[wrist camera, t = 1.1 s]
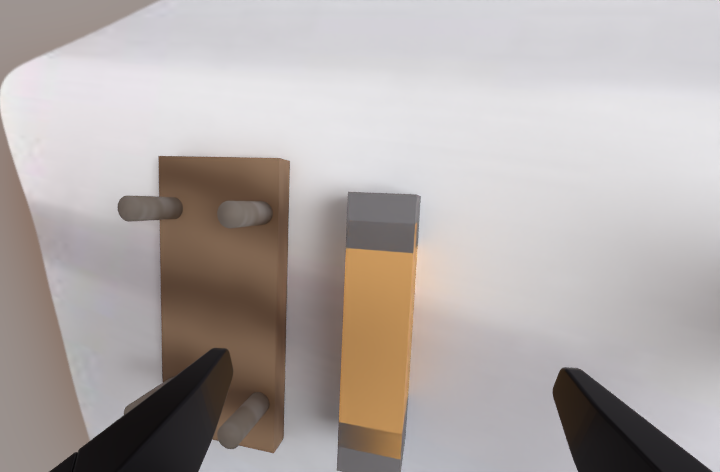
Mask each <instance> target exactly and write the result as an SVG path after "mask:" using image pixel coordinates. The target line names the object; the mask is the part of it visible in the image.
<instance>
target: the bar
mask: <svg viewBox="0 0 720 472" xmlns="http://www.w3.org/2000/svg"><path fill="white" fill-rule="evenodd" d="M420 199H421V196H419V195H412V194H387V193H361V192H348V209H347V233H346V258H345V282H344V307H343V332H342V356H341V381H340V405H339V430H338V454H337V471H342V472H401V466H402V459H403V451H404V444H405V436H406V421H407V405H408V389H409V373H410V357H411V341H412V326H413V310H414V294H415V278H416V262H417V246H418V230H419V215H420Z"/></svg>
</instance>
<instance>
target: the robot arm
mask: <svg viewBox="0 0 720 472" xmlns="http://www.w3.org/2000/svg"><path fill="white" fill-rule="evenodd" d="M232 378H233V366H232V361H231V357H230V352H229V350H228V349H226V348H212V349H211V350H209V351H208V352H206V353H205V354H204V355H203V356H201V357H200V358H199V359H197V360H196V361H195V362H193V363H192V364H191V365H189V366H188V367H187V368H185V369H184V370H183V371H181V372H180V373H179V374H178V375H176V376H175V377H174V378H172V379H171V380H170V381H168V382H167V383H166V384H164V385H163V386H162V387H160V388H159V389H158V390H157V391H155V392H154V393H153V394H151V395H150V396H149V397H147V398H146V399H145V400H143V401H142V402H141V403H139V404H138V405H137V406H135V407H134V408H133V409H132V410H130V411H129V412H128V413H126V414H125V415H124V416H122V417H121V418H120V419H118V420H117V421H116V422H114V423H113V424H112V425H110V426H109V427H108V428H107V429H105V430H104V431H103V432H101V433H100V434H99V435H97V436H96V437H95V438H93V439H92V440H91V441H89V442H88V443H87V444H86V445H84V446H83V447H82V448H80V449H79V451H78V452H75V453H73V454H72V455H71V456H70V457H68V458H67V459H66V460H64V461H63V462H62V463H60V464H59V465H58V466H56V467H55V468H54V469H52V470H51V471H50V472H198V471H199V469H200V466H201V464H202V462H203V459H204V457H205V455H206V453H207V450H208V448H209V446H210V443H211V441H212V438H213V436H214V433H215V431H216V428H217V425H218V422H219V419H220V415H221V412H222V409H223V406H224V403H225V400H226V397H227V393H228V390H229V387H230V384H231V381H232ZM553 397H554V401H555V404H556V407H557V410H558V414H559V417H560V420H561V423H562V426H563V429H564V433H565V436H566V439H567V442H568V445H569V449H570V451H571V454H572V457H573V460H574V462H575V465H576V467H577V470H578V472H712V471H711V470H710V469H709V468H707V467H706V466H705V465H703V464H702V463H701V462H700V461H698V460H697V459H696V458H694V457H693V456H692V455H690V454H689V453H688V452H687V451H685V450H684V449H683V448H681V447H680V446H679V445H678V444H676V443H675V442H674V441H672V440H671V439H670V438H669V437H667V436H666V435H665V434H663V433H662V432H661V431H660V430H658V429H657V428H656V427H654V426H653V425H652V424H651V423H649V422H648V421H647V420H645V419H644V418H643V417H642V416H640V415H639V414H638V413H636V412H635V411H634V410H633V409H631V408H630V407H629V406H627V405H626V404H625V403H624V402H622V401H621V400H620V399H618V398H617V397H616V396H615V395H613V394H612V393H611V392H609V391H608V390H607V389H605V388H604V387H603V386H602V385H600V384H599V383H598V382H596V381H595V380H594V379H593V378H591V377H590V376H589V375H587V374H586V373H585V372H584V371H582V370H581V369H578V368H568V367H564V368H562V369H561V370H560V372H559V374H558V377H557V379H556V382H555V384H554V387H553Z"/></svg>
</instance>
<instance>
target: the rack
mask: <svg viewBox="0 0 720 472" xmlns="http://www.w3.org/2000/svg"><path fill="white" fill-rule="evenodd" d="M289 169H290V161H287V160H284V159H281V158H240V157H182V156H159V197H153V196H124V197H122V198H121V199H120V201H119V203H118V212H119V215H120V216H121V218H122V219H124V220H125V221H145V220H160V263H161V320H162V377H163V383H162V384H160V385H159V386H157V387H156V388H154V389H152V390H151V391H149V392H148V393H146V394H145V395H143V396H142V397H140V398H139V399H137V400H136V401H134V402H132V403H131V404H129V405H128V406H127V407H126V408H125V410H124V415H125V414H126V413H128V412H129V411H130V410H132V409H133V408H134V407H135V406H137V405H138V404H139V403H141V402H142V401H143V400H145V399H146V398H147V397H149V396H150V395H151V394H153V393H154V392H155V391H157V390H158V389H159V388H160V387H162V386H163V385H164V384H166V383H167V382H168V381H170V380H171V379H172V378H174V377H175V376H176V375H178V374H179V373H180V372H181V371H183V370H184V369H185V368H187V367H188V366H189V365H191V364H192V363H193V362H195V361H196V360H197V359H199V358H200V357H201V356H203V355H204V354H205V353H206V352H208V351H209V350H211V349H212V348H226V349H228V350H229V352H230V357H231V361H232V366H233V378H232V381H231V384H230V387H229V390H228V393H227V397H226V400H225V403H224V406H223V409H222V412H221V415H220V419H219V422H218V425H217V428H216V431H215V433H214V436H213V438H212V439H213V440H217V441H219V442H220V444H221V445H222V446H224V447H225V448H227V449H234V448H236V447H237V446H238V445H240V446H244V447H248V448H253V449H257V450H262V451H266V452H270V453H274V452H275V451H276V449H277V448H278V446H279V445H280V443H281V441H282V440H283V436H284V391H285V347H286V302H287V258H288V213H289Z"/></svg>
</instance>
